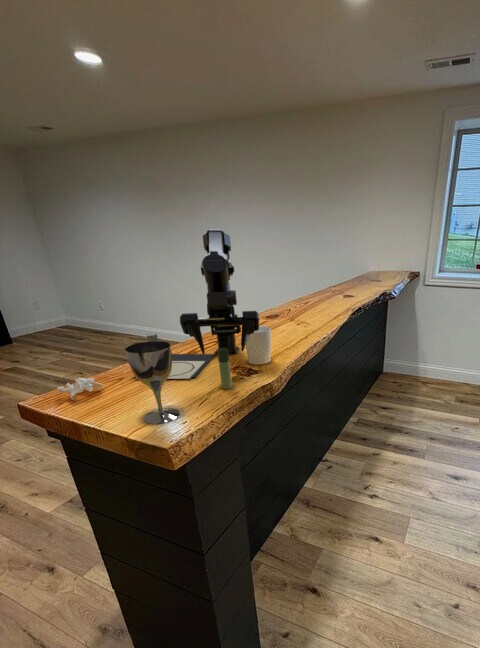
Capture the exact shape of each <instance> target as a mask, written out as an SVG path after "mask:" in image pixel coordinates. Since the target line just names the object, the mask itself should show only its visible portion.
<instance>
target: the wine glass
mask: <svg viewBox="0 0 480 648" xmlns="http://www.w3.org/2000/svg"><path fill="white" fill-rule="evenodd" d="M124 352H125V357H126V361H127V363H128V366H129V368H130V371H131V372H132V374H133V377H136V378H137V379H136V380H138V381H140V383H142V384H144V385H145V386H146V387H148V388H149V389H150V390H151V391H152V392H153V395H154V398H155V401H156V405H157V409H152V410H151V411H148V412H147V413H146V414H144V416H143V417H142V421H143V422H144V423H146V424H149V425H161V424H165V423H168V422H171V421H174V420H176V419H177V418H178V417H180V415H181V412H180V410H179V409H177V408H174V407H163V404H162V393H161V391H162V388H163V386H164V384H165V382H166V381H167V380H168V379H167V378H168V377H169V375H170V373H171V370H172V354H173V352H172V347H171V343H170V342H167V341H161V340H158V341H151V342H148V341H143V342H137V343H134V344H133V343H132V344H131V345H128V346H127V347H125V349H124Z"/></svg>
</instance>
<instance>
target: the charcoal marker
mask: <svg viewBox="0 0 480 648" xmlns="http://www.w3.org/2000/svg"><path fill="white" fill-rule="evenodd" d="M146 338H147V342H151V341H159V337H158V333H156V332H152V333H146Z"/></svg>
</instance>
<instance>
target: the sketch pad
mask: <svg viewBox="0 0 480 648" xmlns="http://www.w3.org/2000/svg"><path fill="white" fill-rule="evenodd" d="M215 356H216V354H215V353H205V354H203V353H202V354H201V353H172V370H171V373H170V375H169V377H168V378H167V379H166V380H190V379H196V377H197V376H198V375H199V374H200V373H201V372H202V370H203V369H204V368H205V367H206V366H207V365H208V364H209V363H210V362H211V360H212V359H213V358H214V357H215ZM133 379H135V380H138V379H137V378H136V377H135V376H133Z"/></svg>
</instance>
